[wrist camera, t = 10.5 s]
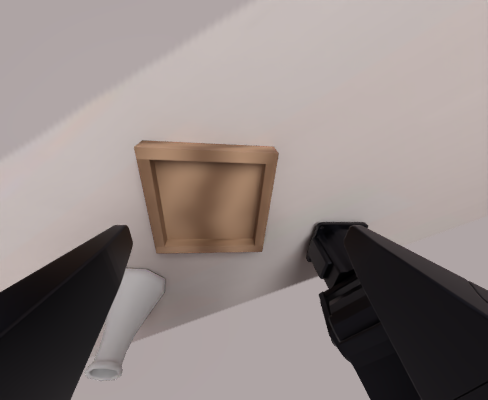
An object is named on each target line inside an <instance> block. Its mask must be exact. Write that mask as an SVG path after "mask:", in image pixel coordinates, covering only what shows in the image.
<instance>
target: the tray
mask: <svg viewBox="0 0 488 400" xmlns="http://www.w3.org/2000/svg"><path fill="white" fill-rule="evenodd" d="M134 150H135V154H136V159H137V164H138V168H139V173H140V178H141V182H142V187H143V192H144V196H145V201H146V206H147V211H148V215H149V220H150V225H151V229H152V234H153V239H154V243H155V248H156V253H214V252H262V249H263V243H264V237H265V231H266V225H267V220H268V214H269V208H270V202H271V196H272V190H273V184H274V178H275V172H276V166H277V160H278V154H279V153H278V152H277V151H276V149H275V148H274V147H268V146H247V145H226V144H205V143H184V142H163V141H141V142H140V143H139V144H137V145H136V146H135V147H134Z"/></svg>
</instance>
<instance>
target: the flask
mask: <svg viewBox="0 0 488 400" xmlns="http://www.w3.org/2000/svg"><path fill="white" fill-rule="evenodd" d="M164 292H165V279H164V278H163V277H161V276H159V275H157V274H155V273H153V272H151V271H149V270H147V269H132V268H126V269H125V273H124V276H123V279H122V282H121V285H120V287H119V290H118V292H117V295H116V297H115V299H114V301H113V304H112V306H111V308H110V311H109V313H108V315H107V317H106V323H105V330H104V333H103V337H102V340H101V344H100V347H99V350H98V352H97V354H96V357H95V359H94V362H93V363H92V364H91V365H89V366H88V367H87V369H86V371H85V374H86V376H87V378H90V379H94V380H99V381H107V380H115V379H117V378H118V377H120V376H121V374H122V362H123V360H124V357H125V354H126V351H127V350H128V348H129V345H130V344H131V342H132V340H133V338H134V336H135V334H136V333H137V331H138V330H139V328H140V327H141V325H142V324H143V322H144V321H145V319H146V318H147V316H148V315H149V313H150V312H151V311H152V309H153V308H154V306H155V305H156V304H157V302H158V301H159V300H160V298H161V297H162V295H163V294H164Z"/></svg>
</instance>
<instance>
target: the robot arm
mask: <svg viewBox="0 0 488 400" xmlns="http://www.w3.org/2000/svg"><path fill="white" fill-rule="evenodd" d="M321 226H322V227H321ZM367 228H368V225H367V224H366V223H364V222H321V223H319V224H318V225H317V227H316V230H315V233H314V236H313V238H312V240H311V243H310V246H309V249H308V252H307V253H308V254H307V257H306V259H307V261H308V262H312V263H313V265H314V267H315V269H316V271H317V273H318V275H319V277H320V278H321V279H324V280H325V282H326V284H327V286H328V288H329V289H328V290H326V291H325V292H321V293H320V294H319V297H320V301H321V306H322V310H323V314H324V317H325V321H326V325H327V329H328V332H329V336H330V337H331V341H332V343H333V344H334V346H336V347H337V348H338V349H339V351H340V352H341V354H342V355H343V356H344V357H345V358H346V359H347V360H348V361H349V362H351V364H352V365H353V366H354V369H355V370H356V372H357V374H358V376H359V378H360V380H361V382H362V384H363V386H364V388H365V390H366V391H367V394H368V396H369V398H370V399H371V400H488V290H486V289H484V288H482V287H480V286H478V285H476V284H474V283H472V282H470V281H467V280H466V279H464V278H462V277H460V276H458V275H457V274H454V273H453V272H451V271H449V270H447V269H445V268H443V267H441V266H439V265H437V264H435V263H433V262H431V261H429V260H427V259H426V258H423V257H422V256H420V255H418V254H416V253H414V252H412V251H410V250H408V249H406V248H404V247H402V246H400V245H398V244H396V243H395V242H393V241H391V240H389V239H387V238H385V237H383V236H381V235H379V234H377V233H375V232H373V231H371V230H369V229H367ZM132 246H133V241H132V238H131V234H130V231H129V228H128V226H126V225H114V226H112V227H111V228H109V229H107V230H106V231H104V232H102V233H100V234H99V235H97V236H95V237H94V238H92V239H90V240H89V241H87V242H85V243H83V244H82V245H80V246H78V247H77V248H75V249H73V250H71V251H70V252H68V253H66V254H65V255H63V256H61V257H60V258H58V259H56V260H54V261H53V262H51V263H49V264H48V265H46V266H44V267H42V268H41V269H39V270H37V271H36V272H34V273H32V274H30V275H29V276H27V277H25V278H24V279H22V280H20V281H19V282H17V283H15V284H13V285H12V286H10V287H8V288H7V289H5V290H3V291H1V292H0V400H71V397H72V395H73V392H74V390H75V388H76V386H77V383H78V381H79V379H80V377H81V374H82V372H83V370H84V368H85V365H86V363H87V361H88V358H89V356H90V354H91V352H92V349H93V347H94V345H95V342H96V340H97V338H98V336H99V333H100V331H101V329H102V327H103V324H104V322H105V320H106V317H107V315H108V313H109V311H110V308H111V306H112V304H113V301H114V299H115V297H116V295H117V292H118V290H119V287H120V285H121V282H122V279H123V276H124V273H125V269H126V266H127V263H128V260H129V256H130V253H131V250H132Z"/></svg>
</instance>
